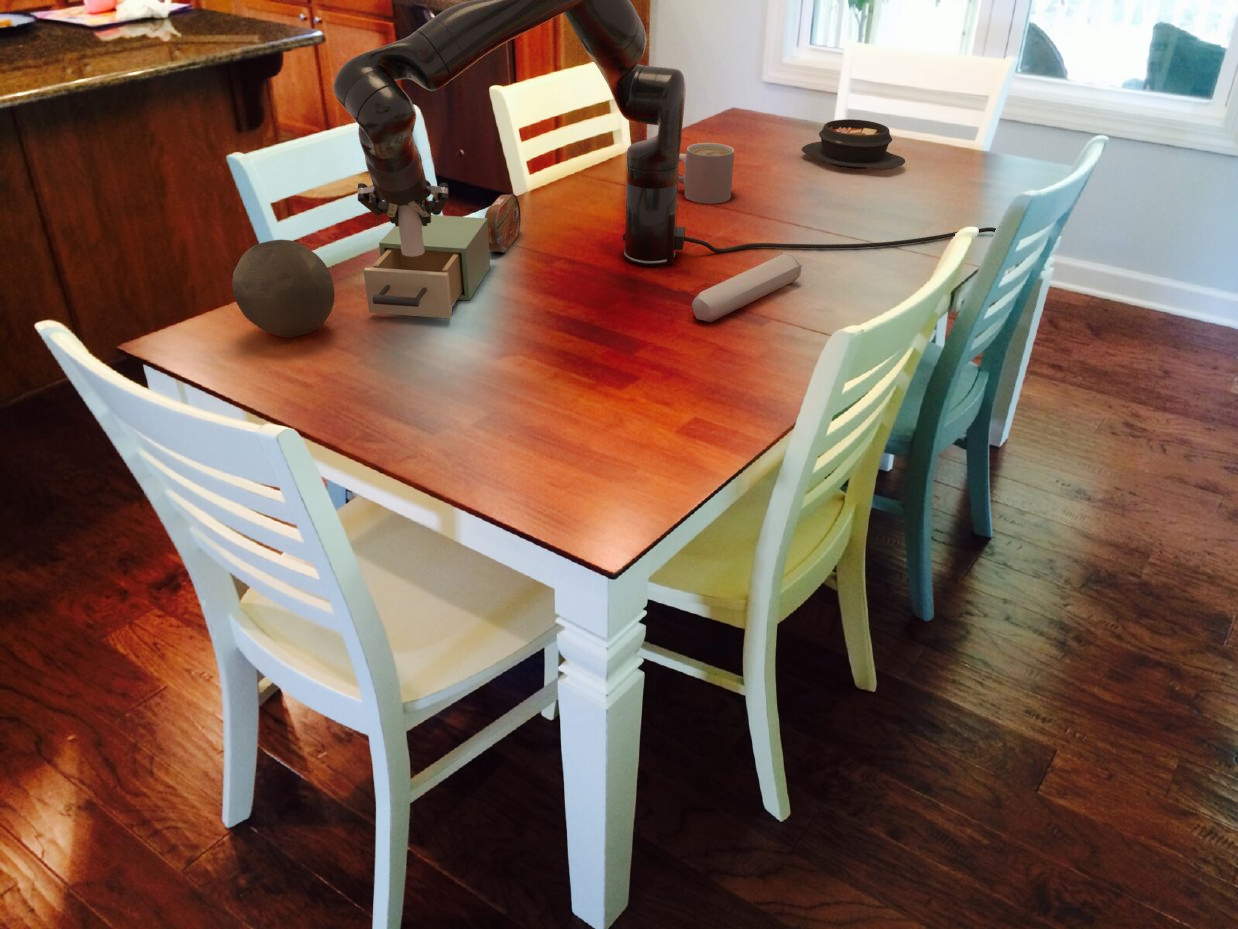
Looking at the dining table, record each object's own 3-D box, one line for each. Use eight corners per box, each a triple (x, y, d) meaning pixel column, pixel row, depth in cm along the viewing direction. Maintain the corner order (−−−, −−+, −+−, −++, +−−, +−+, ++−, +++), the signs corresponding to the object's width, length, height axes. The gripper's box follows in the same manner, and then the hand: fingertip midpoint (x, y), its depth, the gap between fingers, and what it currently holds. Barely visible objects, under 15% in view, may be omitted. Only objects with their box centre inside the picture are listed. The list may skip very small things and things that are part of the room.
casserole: (785, 161, 235) (789, 124, 231) (824, 145, 247) (828, 110, 243) (881, 183, 222) (887, 145, 218) (917, 164, 234) (924, 128, 230)
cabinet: (469, 300, 165) (465, 248, 160) (385, 294, 167) (378, 242, 162) (490, 267, 177) (487, 218, 172) (411, 262, 179) (406, 213, 174)
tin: (499, 259, 181) (497, 214, 176) (483, 257, 181) (480, 212, 177) (522, 231, 193) (521, 188, 188) (507, 229, 194) (505, 187, 189)
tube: (715, 307, 155) (806, 263, 170) (691, 288, 157) (783, 246, 172) (705, 333, 159) (795, 287, 174) (681, 314, 161) (772, 270, 176)
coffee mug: (738, 194, 214) (742, 147, 208) (716, 206, 207) (720, 158, 201) (684, 183, 220) (687, 137, 214) (662, 194, 213) (663, 147, 207)
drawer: (440, 334, 152) (436, 289, 148) (356, 327, 154) (350, 283, 150) (472, 285, 168) (469, 244, 164) (395, 280, 170) (391, 239, 166)
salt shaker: (427, 249, 158) (421, 187, 153) (420, 257, 155) (414, 194, 150) (405, 247, 159) (399, 185, 153) (398, 255, 156) (391, 193, 150)
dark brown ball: (263, 315, 159) (245, 225, 151) (350, 318, 159) (337, 227, 151) (231, 355, 147) (210, 260, 139) (325, 358, 147) (310, 263, 139)
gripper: (343, 191, 138) (366, 243, 155) (445, 190, 139) (457, 242, 156) (344, 142, 140) (366, 199, 156) (445, 141, 141) (456, 198, 158)
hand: (411, 220), depth 156 cm, fingers closed on salt shaker, 3 cm apart
